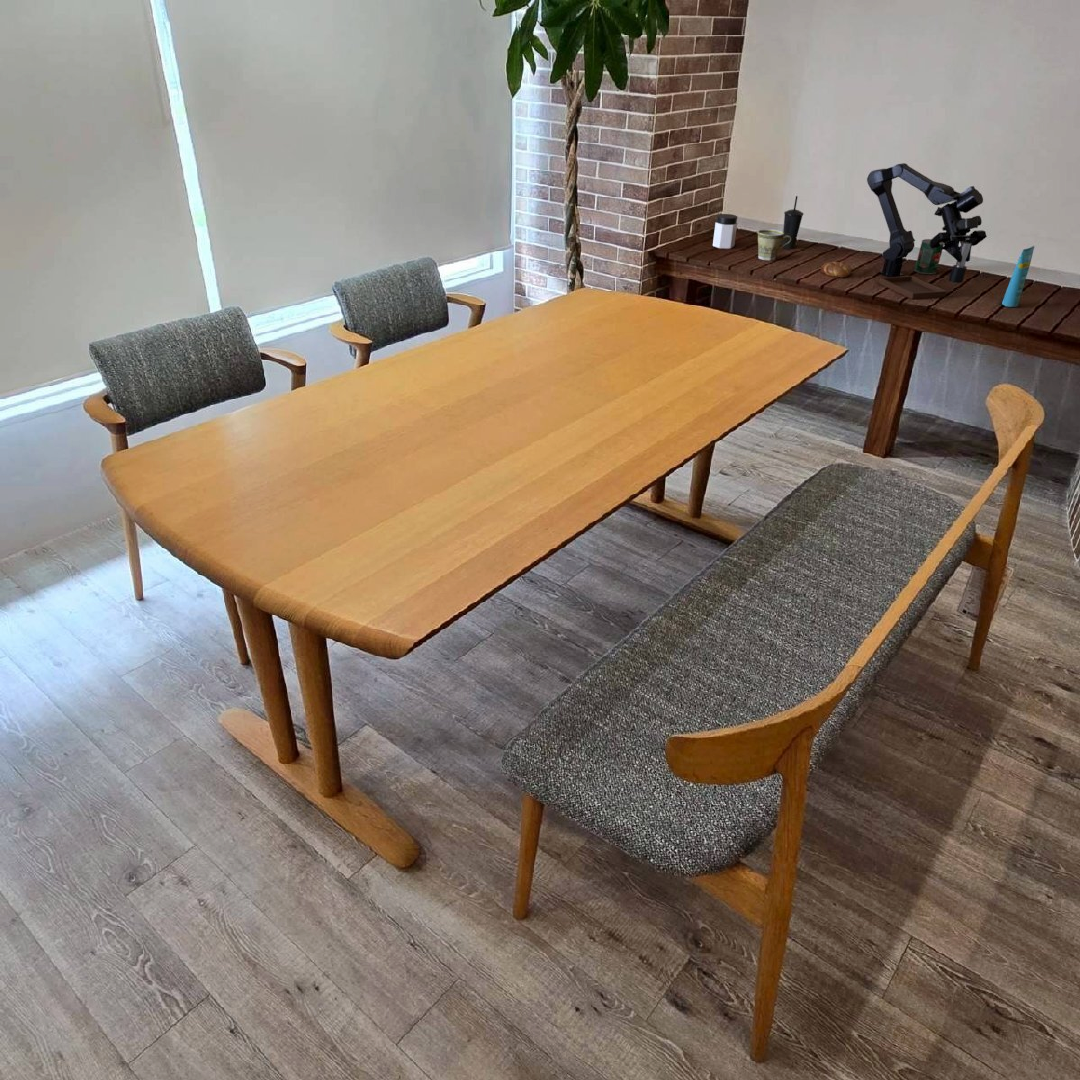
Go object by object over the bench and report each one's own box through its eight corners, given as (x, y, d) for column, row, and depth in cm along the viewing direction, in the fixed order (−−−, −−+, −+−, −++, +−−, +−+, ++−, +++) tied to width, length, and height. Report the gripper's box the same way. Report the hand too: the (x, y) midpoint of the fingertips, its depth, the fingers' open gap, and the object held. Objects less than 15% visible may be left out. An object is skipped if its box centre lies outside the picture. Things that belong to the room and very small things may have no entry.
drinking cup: (799, 249, 343) (808, 198, 332) (780, 249, 343) (789, 198, 332) (794, 245, 349) (803, 194, 338) (776, 244, 349) (785, 194, 338)
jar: (732, 244, 349) (736, 214, 343) (735, 249, 342) (740, 218, 336) (711, 243, 349) (715, 213, 343) (713, 248, 343) (717, 217, 336)
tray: (878, 283, 304) (879, 277, 303) (910, 281, 307) (912, 275, 306) (911, 299, 288) (913, 293, 287) (945, 296, 291) (947, 291, 290)
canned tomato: (938, 274, 314) (946, 244, 308) (916, 273, 316) (923, 243, 310) (934, 269, 321) (942, 239, 315) (912, 267, 322) (920, 238, 316)
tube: (1012, 309, 280) (1032, 250, 270) (998, 305, 283) (1016, 247, 273) (1021, 304, 285) (1040, 246, 274) (1006, 301, 288) (1025, 244, 277)
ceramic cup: (753, 260, 328) (757, 234, 322) (755, 254, 336) (758, 228, 330) (786, 263, 325) (791, 236, 319) (788, 257, 333) (792, 231, 327)
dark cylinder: (946, 279, 293) (957, 241, 286) (956, 278, 294) (968, 240, 287) (954, 283, 289) (965, 244, 282) (965, 282, 290) (976, 244, 283)
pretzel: (855, 278, 308) (858, 268, 306) (826, 278, 308) (828, 268, 306) (845, 269, 318) (847, 259, 316) (817, 269, 318) (819, 259, 316)
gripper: (945, 207, 279) (957, 250, 277) (991, 205, 284) (1004, 247, 281) (924, 226, 290) (935, 267, 287) (969, 224, 294) (980, 264, 292)
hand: (964, 261), depth 287 cm, fingers closed on dark cylinder, 3 cm apart
